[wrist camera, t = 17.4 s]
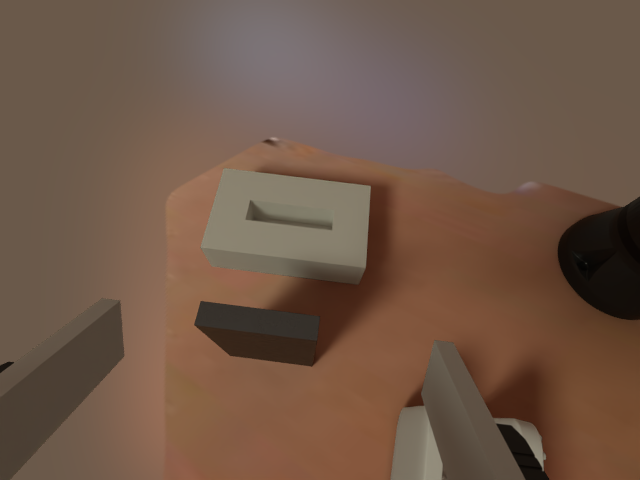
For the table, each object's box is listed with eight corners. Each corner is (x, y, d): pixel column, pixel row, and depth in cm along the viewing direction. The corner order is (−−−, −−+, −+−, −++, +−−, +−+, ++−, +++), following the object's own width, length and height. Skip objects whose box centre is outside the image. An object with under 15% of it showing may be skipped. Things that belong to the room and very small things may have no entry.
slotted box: (363, 209, 53) (370, 185, 48) (358, 284, 48) (365, 267, 42) (231, 193, 53) (224, 168, 48) (211, 266, 48) (200, 247, 42)
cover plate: (314, 349, 44) (319, 316, 29) (312, 366, 43) (317, 340, 28) (234, 339, 44) (200, 301, 29) (230, 355, 43) (194, 324, 29)
